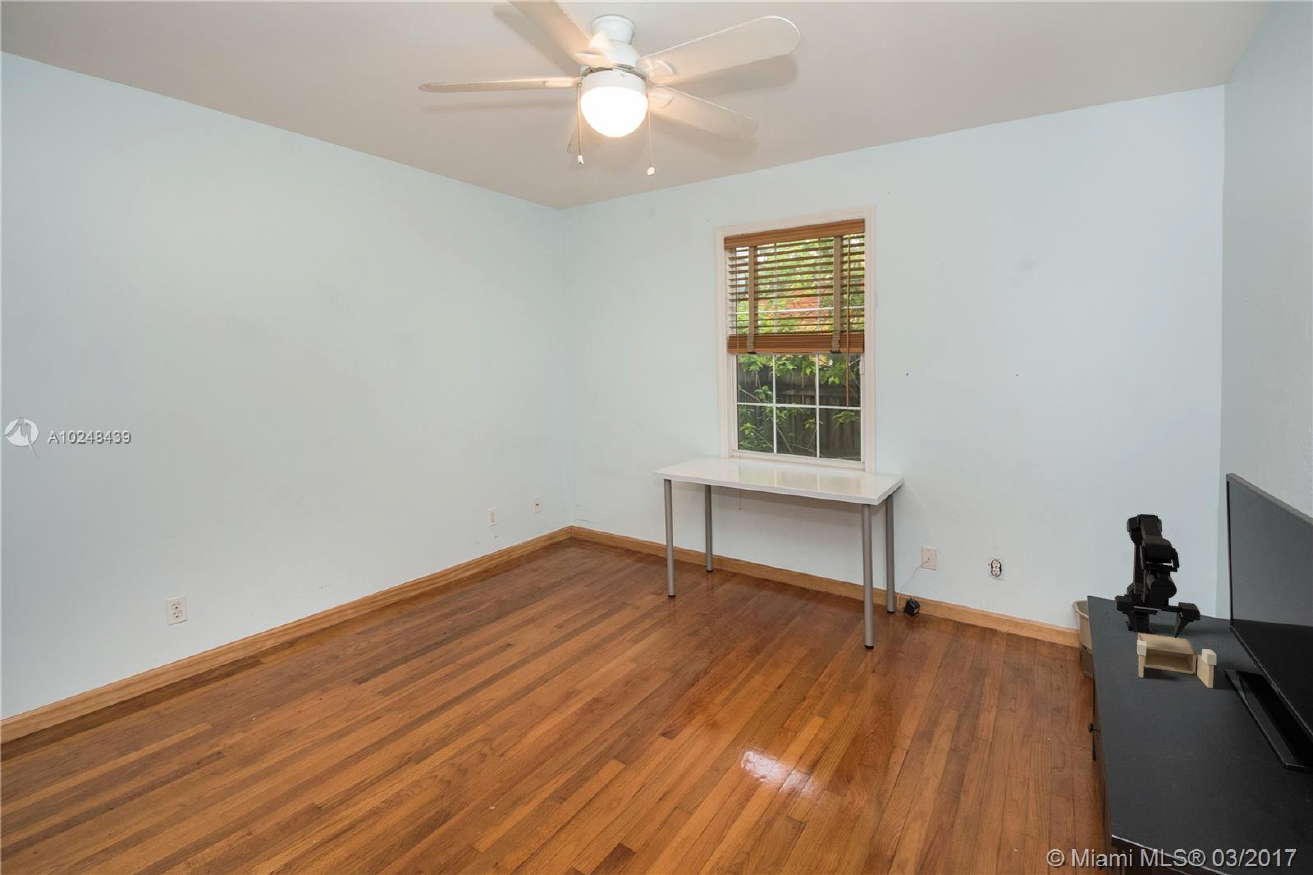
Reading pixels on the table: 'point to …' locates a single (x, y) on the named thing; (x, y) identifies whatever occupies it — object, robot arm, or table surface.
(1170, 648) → the carton
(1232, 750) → the table surface
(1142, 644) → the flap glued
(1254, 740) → the table surface
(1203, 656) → the flap open
